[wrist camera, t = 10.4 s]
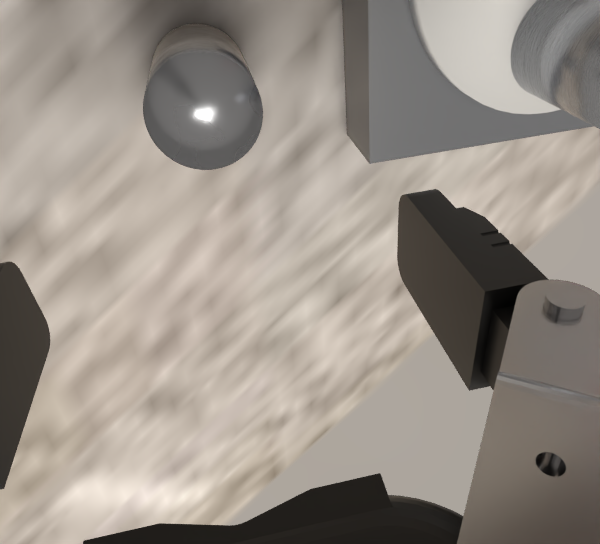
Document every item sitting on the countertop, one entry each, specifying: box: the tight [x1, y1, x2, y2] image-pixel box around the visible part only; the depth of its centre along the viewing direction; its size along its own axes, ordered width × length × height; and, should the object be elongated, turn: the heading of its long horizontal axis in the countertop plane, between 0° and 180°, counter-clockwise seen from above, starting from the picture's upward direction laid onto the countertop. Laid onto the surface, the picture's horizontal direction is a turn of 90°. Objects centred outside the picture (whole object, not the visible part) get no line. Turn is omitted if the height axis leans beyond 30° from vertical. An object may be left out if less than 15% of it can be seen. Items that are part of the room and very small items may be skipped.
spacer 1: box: [143, 23, 263, 170], centre depth 21 cm, size 4×4×6 cm
